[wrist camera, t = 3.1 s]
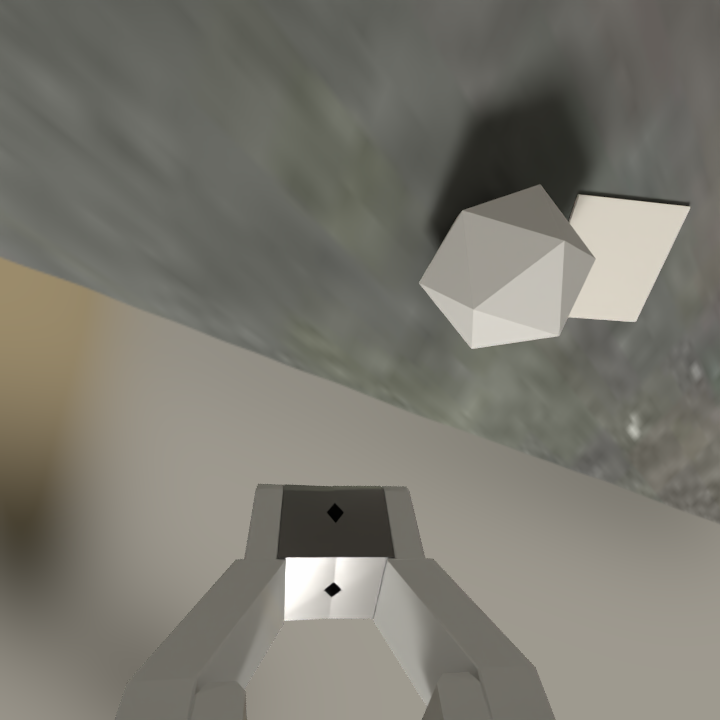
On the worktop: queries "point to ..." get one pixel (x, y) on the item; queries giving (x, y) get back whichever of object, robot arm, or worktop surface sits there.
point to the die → (509, 270)
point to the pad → (622, 252)
